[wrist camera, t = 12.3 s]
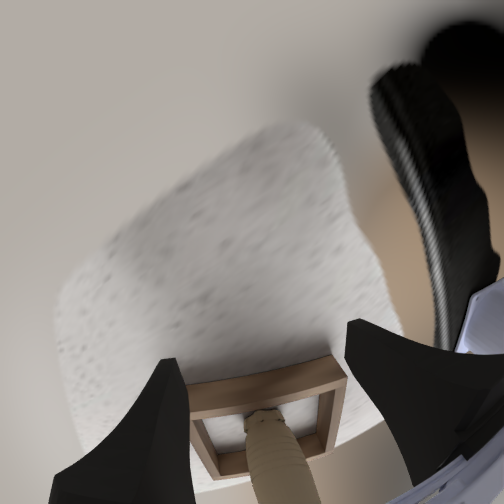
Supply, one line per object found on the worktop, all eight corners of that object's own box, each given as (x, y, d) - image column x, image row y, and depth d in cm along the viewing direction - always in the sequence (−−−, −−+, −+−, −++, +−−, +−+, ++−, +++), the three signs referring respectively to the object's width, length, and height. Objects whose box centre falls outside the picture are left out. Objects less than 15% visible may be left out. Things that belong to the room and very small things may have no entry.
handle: (254, 387, 17) (324, 590, 3) (310, 413, 19) (383, 560, 5) (211, 421, 18) (245, 600, 4) (269, 442, 20) (318, 582, 6)
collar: (332, 354, 18) (352, 382, 15) (323, 434, 21) (334, 458, 18) (176, 386, 16) (175, 421, 13) (210, 459, 19) (214, 485, 17)
